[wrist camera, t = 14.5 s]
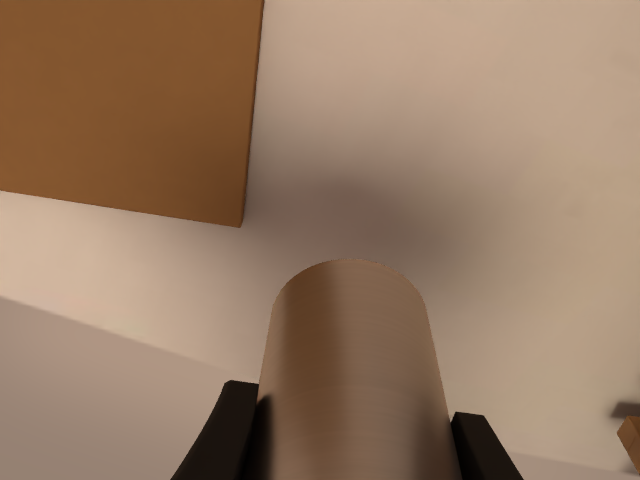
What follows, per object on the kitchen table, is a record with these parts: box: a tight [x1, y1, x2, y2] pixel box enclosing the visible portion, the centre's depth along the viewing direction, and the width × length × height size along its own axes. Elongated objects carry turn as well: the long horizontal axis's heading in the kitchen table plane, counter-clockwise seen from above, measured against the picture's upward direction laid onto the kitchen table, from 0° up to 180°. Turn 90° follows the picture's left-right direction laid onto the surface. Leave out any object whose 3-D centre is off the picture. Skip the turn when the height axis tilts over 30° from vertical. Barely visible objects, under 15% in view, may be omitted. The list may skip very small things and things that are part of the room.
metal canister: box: [242, 259, 462, 480], centre depth 12 cm, size 4×4×6 cm
